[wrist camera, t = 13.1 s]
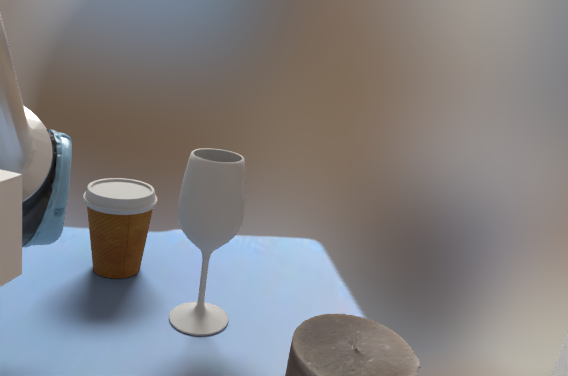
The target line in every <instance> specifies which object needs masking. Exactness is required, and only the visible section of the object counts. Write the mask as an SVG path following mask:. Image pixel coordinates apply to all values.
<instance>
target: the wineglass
mask: <svg viewBox="0 0 568 376" xmlns="http://www.w3.org/2000/svg"><path fill="white" fill-rule="evenodd" d="M245 201H246V180H245V163H244V157H243V156H241V155H239V154H237V153H234V152H230V151H226V150H220V149H206V148H205V149H197V150H193V151H192V152H191V155H190V158H189V161H188V165H187V168H186V171H185V175H184V179H183V183H182V188H181V192H180V198H179V206H178V220H179V223H180V226H181V229H182V230H183V232H184V233H185V235H186V236H187V238H188V239H189V240H190V241H191V242H192V243H194V244H195V245H196V246H197V247H198V248H199V249H200V250H201V252H202V257H203V262H202V271H201V279H200V288H199V297H198V302H188V303H184V304H181V305H178V306H177V307H175V308H174V309H173V310H172V311H171V313H170V317H169V320H170V323H171V324H172V326H173V327H174V328H176V329H177V330H178V331H181V332H183V333H186V334H189V335H196V336H207V335H212V334H215V333H218V332H220V331H222V330H223V329H224V328H225V327H226V326H227V323H228V316H227V314H226V313H225V312H224V311H223V310H222V309H221V308H219V307H218V306H215V305H213V304H209V303H205V302H204V296H205V288H206V280H207V271H208V263H209V258H210V255H211V253H212V252H213V251H214V250H216V249H218V248H220V247H221V246H223V245H224V244H226V243H228V242H229V241H230V240H231V239H232V238H233V237H234V236H235V235H236V234H237V232H238V231H239V229H240V227H241V225H242V222H243V218H244V213H245Z"/></svg>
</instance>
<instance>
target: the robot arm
mask: <svg viewBox="0 0 568 376" xmlns="http://www.w3.org/2000/svg"><path fill="white" fill-rule="evenodd" d="M71 155H72V145H71V139H70V137H69V136H68V135H66V134H64V133H59V132H56V131H55V130H47V129H46V128H45V126H44V125H43V123H42V122H41V121H40V120H39V119H38V117H37V116H36V115H34V114H33V113H32V112H31V111H30V110H28V109H27V108H25V107H24V106H23V102H22V98H21V94H20V90H19V86H18V82H17V78H16V73H15V70H14V65H13V61H12V57H11V53H10V49H9V45H8V41H7V37H6V33H5V29H4V24H3V21H2V16H1V13H0V287H1V286H3V285H4V284H6V283H7V282H9V281H11V280H12V279H14V278H16V277H17V276H19V275H21V274H22V247H29V246H31V245H47V244H51V243H54V242H55V241H56V240H58V238H59V237H60V235H61V233H62V230H63V225H64V218H65V207H66V202H67V197H68V188H69V180H70V169H71ZM552 376H568V332H567V335H566V338H565V340H564V343H563V346H562V349H561V351H560V354H559V357H558V360H557V362H556V365H555V368H554V371H553V373H552Z"/></svg>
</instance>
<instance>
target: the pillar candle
mask: <svg viewBox="0 0 568 376" xmlns="http://www.w3.org/2000/svg"><path fill="white" fill-rule="evenodd" d="M419 368H420V361H419V359H418V358H417V357H416V356H415V354H414V352H413V350H412V349H411V348H410V346H409V345H408V344H407V343H406V342H405V341H404V340H403V339H402V338H401V337H400V336H399V335H397V334H396V333H395V332H393V331H392V330H390V329H389V328H387V327H386V326H383V325H381V324H378V323H376V322H374V321H372V320H368V319H365V318H362V317H357V316H353V315H346V314H323V315H320V316H315V317H313V318H310V319H308V320H305V321H304V322H303V323H302V324H301V325H300V326H298V327H297V328H296V330H295V332H294V335H293V338H292V343H291V348H290V353H289V359H288V364H287V370H286V375H285V376H418V369H419Z"/></svg>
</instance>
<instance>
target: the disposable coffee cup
mask: <svg viewBox="0 0 568 376" xmlns="http://www.w3.org/2000/svg"><path fill="white" fill-rule="evenodd" d="M83 198H84V200H85V203H86V205H87V209H88V220H89V230H90V240H91V250H92V260H93V270H94V272H95V273H96V274H98V275H100V276H102V277H106V278H115V279H117V278H127V277H130V276H133V275H135V274H136V273H138V272H139V270H140V265H141V260H142V256H143V251H144V247H145V242H146V237H147V233H148V228H149V224H150V219H151V214H152V210H153V208H154V206H155V204H156V202H157V197H156V195H155V191H154V188H153V187H152V186H151V185H149V184H147V183H144V182H141V181H138V180H132V179H123V178H109V179H101V180H96V181H94V182H91V183H90V184H89V185H88V187H87V191H86V192H85V193H84V195H83Z"/></svg>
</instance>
